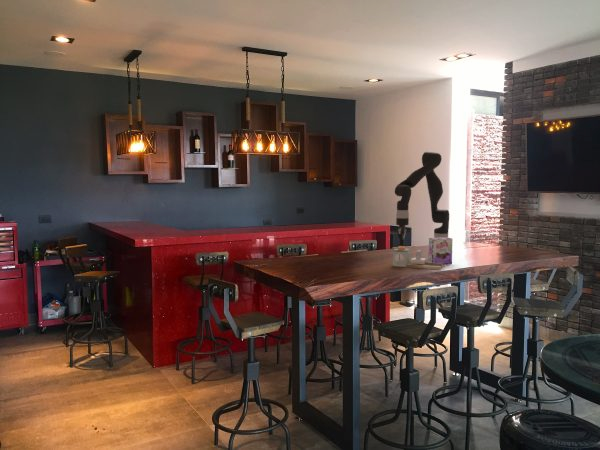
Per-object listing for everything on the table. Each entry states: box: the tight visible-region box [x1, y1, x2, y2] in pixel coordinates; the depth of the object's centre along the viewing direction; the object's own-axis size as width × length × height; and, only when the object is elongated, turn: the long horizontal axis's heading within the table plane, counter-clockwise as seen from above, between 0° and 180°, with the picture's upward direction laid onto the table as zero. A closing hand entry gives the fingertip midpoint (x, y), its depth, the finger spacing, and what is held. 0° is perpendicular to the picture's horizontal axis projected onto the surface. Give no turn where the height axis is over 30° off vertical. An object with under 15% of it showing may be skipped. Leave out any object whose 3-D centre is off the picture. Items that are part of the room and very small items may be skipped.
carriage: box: [410, 249, 428, 264], centre depth 309 cm, size 8×8×8 cm
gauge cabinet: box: [392, 248, 411, 268], centre depth 313 cm, size 10×8×10 cm
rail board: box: [405, 260, 444, 270], centre depth 308 cm, size 10×20×3 cm, turn 63°
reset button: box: [396, 245, 407, 250], centre depth 313 cm, size 4×4×4 cm
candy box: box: [427, 237, 453, 265], centre depth 321 cm, size 14×6×16 cm, turn 101°
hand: (401, 245), depth 313 cm, fingers closed
